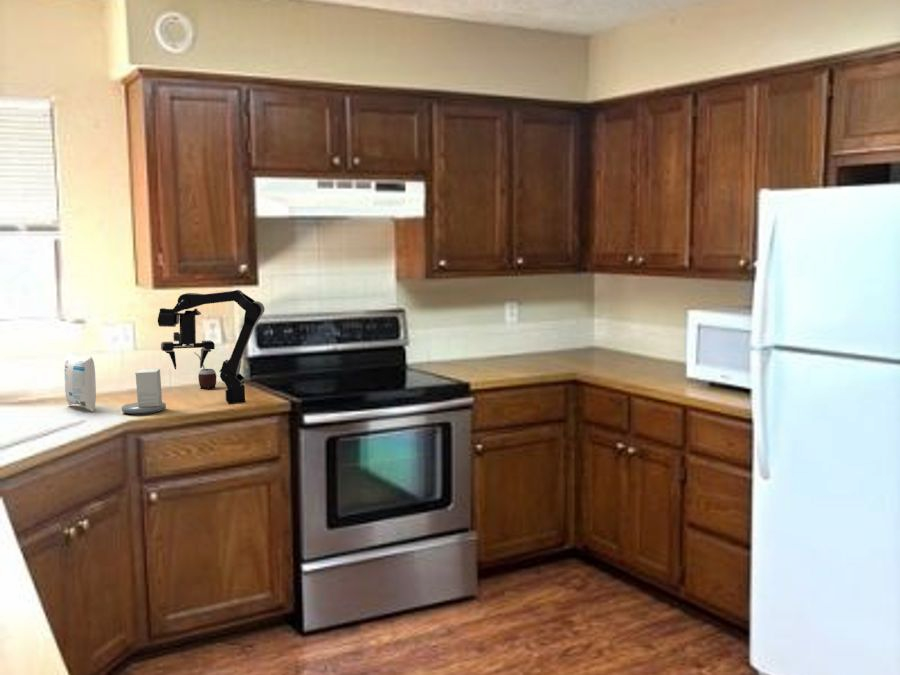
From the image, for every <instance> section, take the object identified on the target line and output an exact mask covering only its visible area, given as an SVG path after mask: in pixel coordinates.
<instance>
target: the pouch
mask: <svg viewBox="0 0 900 675" xmlns="http://www.w3.org/2000/svg"><path fill="white" fill-rule="evenodd" d="M96 379H97V378H96V366H95V361H94V359H93V357H92V356H90V357H88V358H80V357H76V356H75V355H73V354H71V353H69V352H67V354H66V357H65V361H64V391H65V398H66V402H67V404H68V405H69V406H72V405H79V406H80V407H83V408H85V409H86V410H88V411H91V413H93V412H94V410H95V408H96V400H97V398H96V397H97V395H96V394H97V387H96V382H97V381H96Z"/></svg>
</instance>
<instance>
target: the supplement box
mask: <svg viewBox="0 0 900 675" xmlns="http://www.w3.org/2000/svg"><path fill="white" fill-rule="evenodd" d="M161 377H162V376H161V368H150V369H149V368H148V369H139V370H137V371H136V372H135V381H136V382H135V383H136V384H135V385H136V396H137V402H138V407H154V406H159V405H160V404H161V403H162V402H163V395H162V380H161V379H162V378H161Z"/></svg>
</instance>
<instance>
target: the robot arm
mask: <svg viewBox="0 0 900 675" xmlns="http://www.w3.org/2000/svg"><path fill="white" fill-rule="evenodd" d="M226 302H227V303H228V302H235V303H236V304H237V305H238V306H239V307H241V309H242V310H244V319H243V325H242V328H241V331H240V332H239V336H238V338H237V341H236V343H235V345H234V348H233V350H232V354H231V355H230V357H229V359H225V360H224V361H223V362H222V366H221V368H220V370H219V371H218V372H219V373H220V374H219V378H220V380H221V381H222V382H224V383H225V387H226V389H225V390H224V393H225V394H224V395H225V396H224V397H225V401H226V403H227V404H229V405H230V404H243V403H247V400H246V386H245V385H244V384H245V383H246V382H245V381H246V378H245V377H244V376H243V375H242V373H240V371H241V364H242V359H243V356H244V353H245V351H246V349H247V347H248V344H249V341H250V339H251V337H252V334H253V331H254V329H255V327H256V325H257V324H258V323H259V320H260V319H261V317H262V316H263V315H264V313H265V306H264V304H263V302H260V301H256V300H255V299H254V298H251V297H250V296H248V295H247V294H246V293H244V292H243V291H242V290H240V289H235V290H230V291H229V290H228V291H222V292H221V291H220V292H211V293H198V292H197V293H196V292H187V293H182V294H181V295H179V296H178V298H177V303H176V304H175V306H174V307H173V308H165V307H162V308H159V313H158V316H157V324H158V327H163V328H164V327H165V328H166V327H168V328H171V327H172V328H173V327H174V328H176V326H177V325H179V332H178V331H174V332H173V335H172V336H173V341H162V342H161V343H160V350H161V351H162V352H165V353H166V354H168V355H169V357H170V359H171V362H172V365H173V368H174V370H177V361H176V360H177V358H176V354H175V353H176V351H175V350H174V349H197V348H198V349H199V348H200V357H201V358H200V359H199V361H200V362H199V368H200V369H203V365H204V362H205V360H206V357H207V356H208V354H209V353H210V352H212V350H216V349H215V348H216V347H215V342H214V341H212V340H210V339H209V340H201V342H197V340H196V337H197V335H196V333H197V331H196V330H197V329H196V326H197V325H196V323H197V322H196V321H197V320H196V316H200V315H202V312H201V311H200V310H198V308H196V307H200V306H202V305H208V304H217V303H218V304H219V303H226ZM192 308H193V310H189V309H192ZM182 311H184V312H182ZM174 342H178V343H174Z"/></svg>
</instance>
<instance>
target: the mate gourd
mask: <svg viewBox="0 0 900 675" xmlns="http://www.w3.org/2000/svg"><path fill="white" fill-rule="evenodd" d="M193 354H195V355H196V356H197V357H198V359H199V360H200V358H201V355H199V354H198V353H196V352H194V353H193ZM198 384H199V386H200V388H199V390H200V389H204V390H207V389H208V390H207V391H211V390H213V389H212V388H217V387H216V384H217V374H216V370H214V369H213V368H206V367H205V365H204V364H203V366H202V368H201V369H200V370H199V372H198Z"/></svg>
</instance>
